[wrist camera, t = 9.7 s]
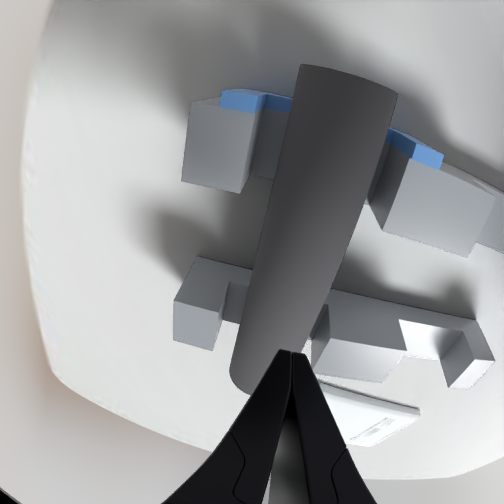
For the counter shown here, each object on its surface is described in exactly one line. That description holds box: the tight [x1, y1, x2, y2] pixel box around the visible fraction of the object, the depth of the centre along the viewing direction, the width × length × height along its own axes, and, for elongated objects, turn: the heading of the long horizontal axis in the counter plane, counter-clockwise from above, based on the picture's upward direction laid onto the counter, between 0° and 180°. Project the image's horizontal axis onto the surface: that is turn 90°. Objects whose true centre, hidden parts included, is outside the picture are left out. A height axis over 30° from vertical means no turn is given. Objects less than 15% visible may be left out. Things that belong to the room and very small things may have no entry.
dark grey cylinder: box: [229, 64, 398, 395], centre depth 13 cm, size 4×16×4 cm, turn 170°
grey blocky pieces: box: [173, 88, 504, 389], centre depth 14 cm, size 20×13×4 cm, turn 79°
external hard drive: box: [319, 383, 420, 447], centre depth 25 cm, size 2×8×12 cm
